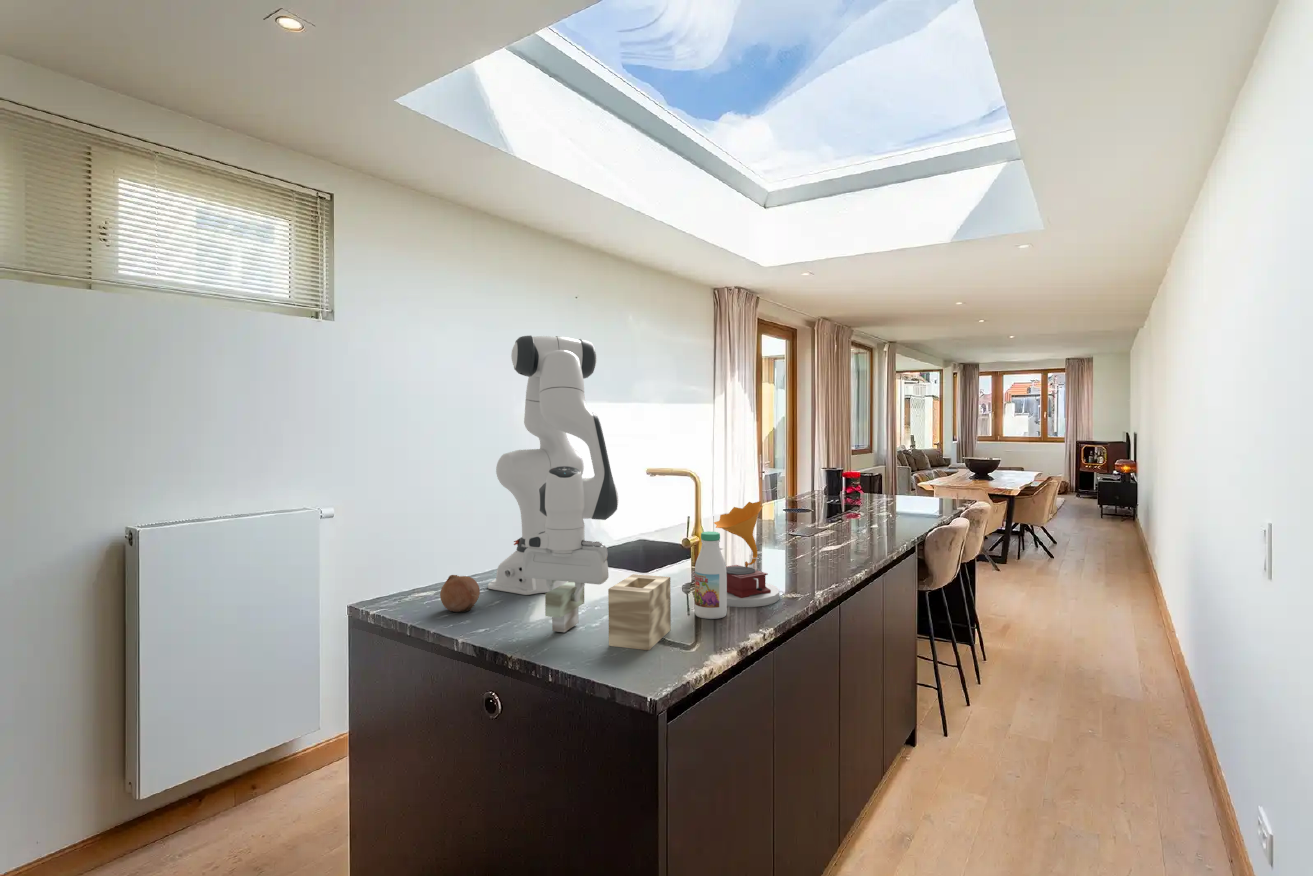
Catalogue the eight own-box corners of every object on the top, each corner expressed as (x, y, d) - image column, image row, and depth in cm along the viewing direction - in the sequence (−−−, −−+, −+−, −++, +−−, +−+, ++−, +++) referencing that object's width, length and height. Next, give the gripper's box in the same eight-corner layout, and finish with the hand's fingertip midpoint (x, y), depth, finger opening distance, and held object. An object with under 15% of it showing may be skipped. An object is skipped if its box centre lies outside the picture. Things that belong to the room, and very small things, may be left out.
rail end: (560, 636, 149) (559, 595, 149) (545, 634, 150) (545, 593, 150) (584, 620, 160) (584, 581, 160) (570, 618, 162) (570, 580, 161)
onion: (445, 623, 171) (427, 587, 171) (476, 605, 177) (459, 570, 177) (460, 617, 164) (442, 579, 164) (492, 599, 170) (474, 562, 171)
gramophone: (745, 583, 196) (745, 496, 196) (796, 599, 179) (796, 504, 178) (686, 593, 185) (686, 501, 185) (734, 612, 168) (734, 510, 167)
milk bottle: (709, 608, 171) (708, 528, 170) (733, 615, 165) (733, 532, 165) (688, 615, 166) (687, 532, 165) (712, 622, 160) (712, 536, 159)
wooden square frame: (649, 650, 141) (648, 592, 141) (608, 645, 144) (608, 589, 144) (670, 630, 154) (670, 577, 154) (633, 626, 157) (633, 574, 157)
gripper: (612, 539, 154) (613, 600, 155) (532, 534, 161) (533, 592, 162) (601, 545, 148) (601, 608, 149) (518, 539, 155) (519, 599, 156)
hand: (565, 600), depth 155 cm, fingers closed on rail end, 4 cm apart
